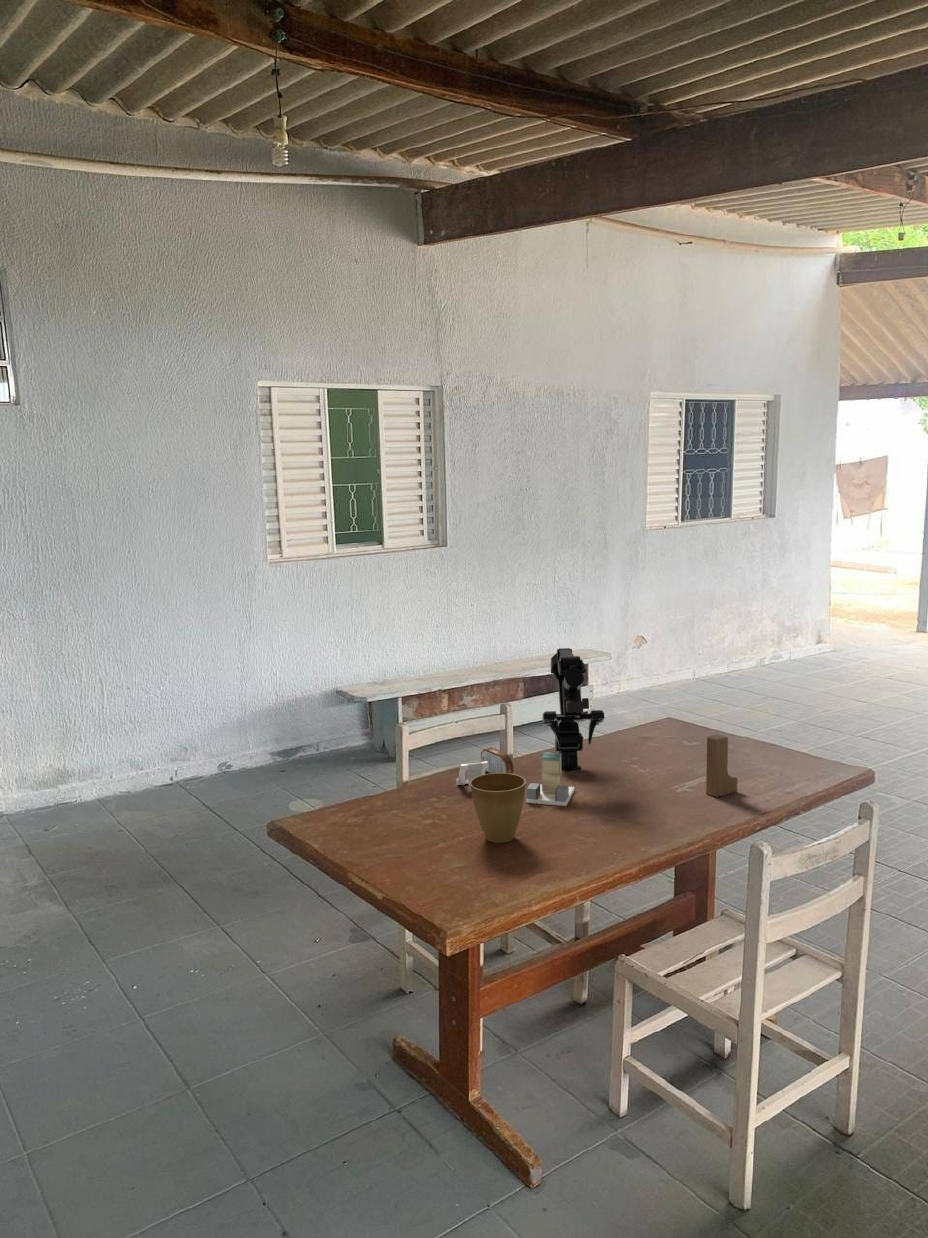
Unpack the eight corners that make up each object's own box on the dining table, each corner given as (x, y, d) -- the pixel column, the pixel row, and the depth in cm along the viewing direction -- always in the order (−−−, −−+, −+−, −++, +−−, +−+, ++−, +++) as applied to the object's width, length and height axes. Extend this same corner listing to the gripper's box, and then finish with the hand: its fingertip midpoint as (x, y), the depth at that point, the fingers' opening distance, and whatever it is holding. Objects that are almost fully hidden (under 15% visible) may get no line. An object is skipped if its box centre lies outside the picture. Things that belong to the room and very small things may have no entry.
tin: (514, 780, 295) (514, 754, 294) (506, 782, 294) (506, 756, 292) (487, 768, 308) (486, 744, 306) (479, 770, 306) (478, 746, 305)
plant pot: (497, 823, 259) (496, 768, 256) (538, 837, 248) (537, 780, 246) (459, 839, 249) (458, 782, 246) (500, 854, 238) (498, 794, 236)
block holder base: (536, 787, 288) (535, 774, 287) (574, 790, 284) (574, 777, 283) (526, 802, 275) (526, 788, 274) (566, 806, 271) (566, 791, 271)
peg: (545, 786, 284) (545, 752, 282) (561, 787, 282) (561, 753, 281) (541, 792, 279) (541, 757, 277) (558, 793, 278) (558, 758, 276)
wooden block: (726, 788, 283) (727, 731, 280) (737, 792, 279) (738, 734, 277) (705, 794, 278) (706, 736, 276) (717, 798, 275) (718, 739, 272)
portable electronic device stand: (481, 781, 295) (481, 756, 294) (490, 789, 288) (489, 763, 286) (456, 785, 292) (455, 759, 291) (464, 793, 285) (463, 767, 284)
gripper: (543, 689, 281) (545, 740, 276) (604, 688, 281) (608, 738, 276) (541, 698, 292) (543, 747, 287) (600, 696, 291) (603, 745, 286)
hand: (574, 744), depth 284 cm, fingers open, 9 cm apart
